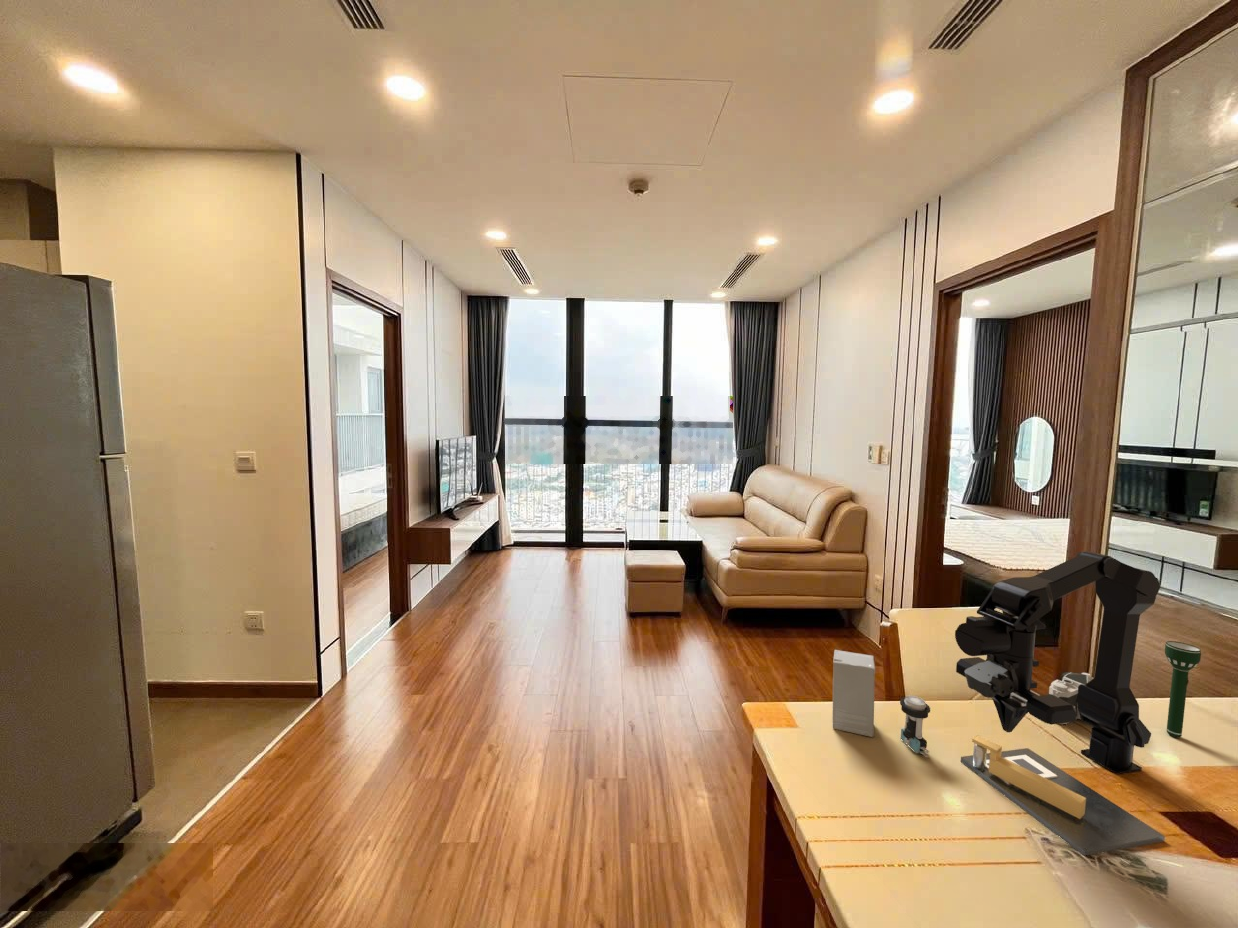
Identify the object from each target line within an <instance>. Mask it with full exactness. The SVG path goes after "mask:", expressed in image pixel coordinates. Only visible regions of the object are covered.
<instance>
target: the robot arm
mask: <svg viewBox="0 0 1238 928" xmlns="http://www.w3.org/2000/svg"><path fill="white" fill-rule="evenodd" d="M1091 583H1094V592H1095V594H1096V596H1097V598H1098V600H1099V602H1100V603H1101V605H1102V607H1103V611H1102V619H1101V625H1100V632H1099V638H1098V640H1099V641H1098V646H1097V654H1096V660H1095V669H1094V676H1093V677H1092V678H1093V679H1092V680H1090V681H1089V682H1088V683H1086V684H1085V685H1084V684H1080V685H1079V686H1078V696H1077V699H1076V701H1075V702H1076V703H1077V708H1078V711H1079V714H1080V719H1081V720H1080V719H1079V720H1080V721H1081V722H1083V723H1085V724H1087V725H1090V726H1091V727H1092V728H1091V733H1090V738H1089V748H1086V749H1080V753H1081V754H1082V755H1083V756H1084V757H1087V758H1088V759H1090V760H1091V761H1094V762H1095V763H1097V764H1099V765H1101V766H1102V767H1104V768H1106V769H1107V770H1109V771H1111V772H1112V773H1114V774H1118V775H1119V774H1126V773H1127V774H1128V773H1132V772H1138V771H1140V772H1141V771H1142V769H1143V768H1142V766H1141V765H1138V764H1137V763H1135V762H1133V759H1134V749H1135V747H1137V748H1141V749H1142V748H1145V745H1147V744H1149V742H1150V739H1151V737H1152V733H1151V731H1150V730H1149V729H1148V727H1147V726H1146V725H1145V724H1144V723H1143V722H1142V720H1141V719H1140V705H1139V702H1138V700H1137V698H1136V697H1135V695H1134V693H1133V691H1132V690H1131V687H1130V685H1131V679H1132V672H1133V665H1134V659H1135V651H1136V644H1137V640H1138V639H1137V638H1138V630H1139V625H1140V617H1141V615H1142V614H1143V613H1144V612H1146V611H1148V609H1149V608H1151V607H1152V606H1154V605H1155V603H1156V599H1157V596H1158V594H1159V591H1160V589H1161V583H1160V581H1159V578H1158V577H1156V575H1155V574H1154V573H1153V572H1152V571H1150V570H1145V569H1141V568H1138V567H1134V566H1131V565H1128V564H1126V563H1124V562H1122V561H1120V560H1118V559H1117V558H1114V557H1113V556H1111V555H1106V554H1102V553H1098V552H1093V551H1088V550H1086V551H1080V552H1078V553H1077V554H1076V556H1074V557H1072V558H1070V559H1068V560H1066V561H1063V562H1061V563H1059V564H1057V565H1054V566H1053V567H1051V568H1048V569H1046V570H1045V571H1042V572H1040V573H1038V574H1035V575H1032V576H1026V577H1025V576H1023V577H1019V576H1018V577H1010V578H1006V579H1002V580H1000V581H998V582H997V583H995V584H994V585H993V587H992V589H991V590H990V591H989V593H988V594H987V596H986V597H985V599H984V601H982V603H981V605H980V606H979V607H978V609H977V610H976V614H977V615H979V616H970V615H969V616H966V617H965V622H963V623H960V624H959V625H958V626H957V628H956V630H955V632H954V637H955V641H956V644H957V646H958V647H959V649H960V650H961V651H962V652H963V653H964V654H965V655H967V656H970V657H965V658H960V659H959V660H957V662H956V665H955V666H956V669H955V672H956V673H957V674H959V675H960V676H962V677H964V678H965V680H966V682H967V687H968V688H969V689H971V690H973V691H975V692H977V693H979V694H980V695H981V696H983V697H984V698H987V699H991V700H992V703H993V704H994V706H995V709H996V712H997V713H996V714H997V715H998V719H999V721H1000V724H1001V728H1002V730H1003V731H1004V732H1006V733H1012V732H1013V730H1015V728H1016V727H1017V726H1018V725H1019V723H1020V722H1021V721H1022V720H1023V719H1024V717H1025V716H1026V715H1027V714H1028V713H1029V715H1031V716H1032V717H1034V718H1035V719H1038V720H1039V721H1041V722H1043V723H1044V724H1047V725H1057V724H1058V725H1062V724H1061V723H1068V724H1070V723H1076V722H1077V719H1076V709H1075V708H1074V707H1073V705H1072V704H1070V703H1068V702H1066V701H1064V700H1062V699H1060V698H1058V697H1056V696H1054V695H1052V694H1048V693H1047V694H1039V693H1037V692H1035V691H1034V690H1032V689H1037V688H1038V682H1037V681H1035V680H1033V679H1032V678H1033V671H1034V670H1033V668H1035V667H1036V668H1037V667H1039V665H1040V660H1037V659H1036V658H1034V655H1035V654H1034V653H1035V645H1036V644H1035V643H1036V641H1035V640H1036V631H1037V630H1044V629H1046V625H1045V624H1044V623H1043V622H1042V621H1040V619H1041V618H1042V617H1043V616H1045V615H1046V614H1048V613H1049V612H1051V611H1052V609H1053V605H1054V602H1055V601H1057V600H1058V599H1060V598H1062V597H1065V596H1066V595H1068V594H1071V593H1073V592H1075V591H1077V590H1079V589H1082V588H1084V587H1085V586H1088V585H1090V584H1091ZM996 609H997V610H996ZM1000 611H1001V612H1000ZM1003 612H1005V613H1003ZM979 656H980V657H979ZM981 656H986V659H983V658H981ZM1069 722H1070V723H1069Z"/></svg>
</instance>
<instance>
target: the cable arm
mask: <svg viewBox="0 0 1238 928" xmlns="http://www.w3.org/2000/svg"><path fill="white" fill-rule="evenodd" d="M971 742H972V743H973V744H974V743H976V744H978V745H980V746H982V747H984V748H986V749H987V751H989V753H990V760H989V772H990V773H992V774H994V775H996V776H998V777H1000V778H1002V779H1003V780H1005V781H1007V782H1009V783H1011V784H1013V785H1015V786H1017V787H1019V788H1021V789H1023V790H1025V791H1027V792H1029V793H1030V794H1032V795H1034V796H1036V797H1038V798H1040V799H1042V800H1044V801H1046V802H1048V803H1050V804H1052V805H1054V806H1056V807H1057V808H1059V809H1061V810H1063V811H1065V812H1067V813H1069V814H1071V815H1073V816H1075V817H1077V818H1079V819H1081V817H1082V816H1083V815H1084V814H1085V805H1086V798H1085V797H1083V796H1081V795H1079V794H1077V793H1075V792H1073V791H1071V790H1069V789H1067V788H1065V787H1062V786H1060V785H1058V784H1056V783H1054V782H1052V781H1050V780H1048V779H1046V778H1044V777H1042V776H1040V775H1038V774H1036V773H1034V772H1032V771H1030V770H1028V769H1025V768H1023V767H1021V766H1019V765H1017V764H1015V763H1013V762H1011V761H1009V760H1007V759H1005V758H1003V757H1001V754H1002V751H1003V746H1001V745H1000V744H998V743H996V742H993V741H991V740H989V739H987V738H985V737H983V736H980V735H976V736H974V737H972V738H971Z"/></svg>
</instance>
